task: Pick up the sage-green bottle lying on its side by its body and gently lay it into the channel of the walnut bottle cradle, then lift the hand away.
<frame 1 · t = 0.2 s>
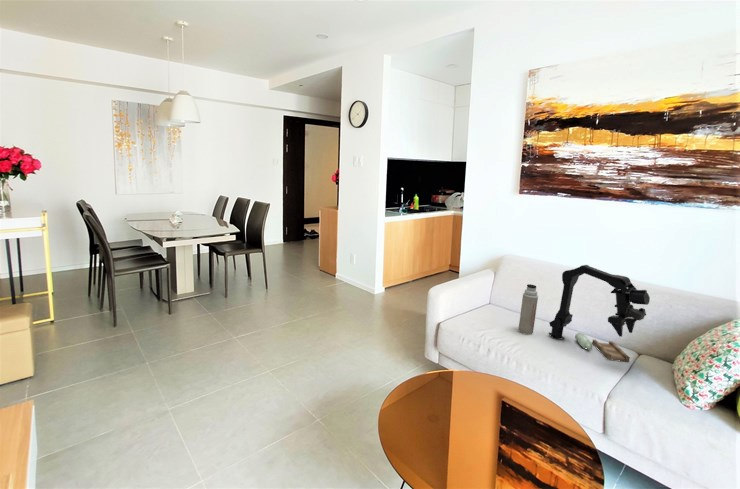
hand: (625, 334, 184), 15 cm above the table, tool pointing down, fingers open, 9 cm apart
bottle: (582, 345, 206), on the table
thermos bottle: (525, 331, 220), on the table
cradle: (609, 352, 198), on the table
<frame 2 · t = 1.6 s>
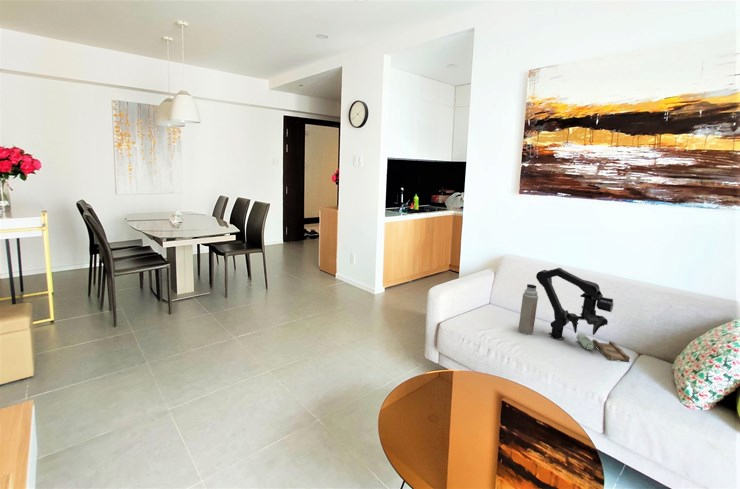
hand: (584, 333, 204), 7 cm above the table, tool pointing down, fingers open, 9 cm apart
bottle: (582, 344, 206), on the table, tilted 20°
everything else where it was.
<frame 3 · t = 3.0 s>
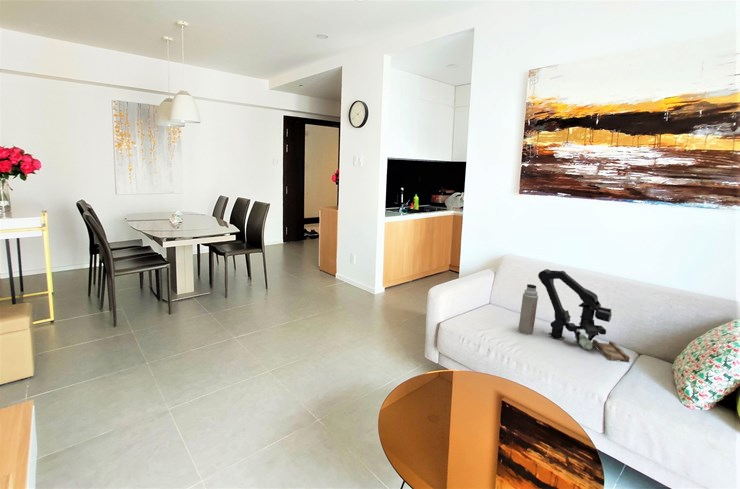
hand: (582, 343, 205), 1 cm above the table, tool pointing down, fingers closed on bottle, 5 cm apart
bottle: (582, 344, 206), on the table, touching gripper
everything else where it was.
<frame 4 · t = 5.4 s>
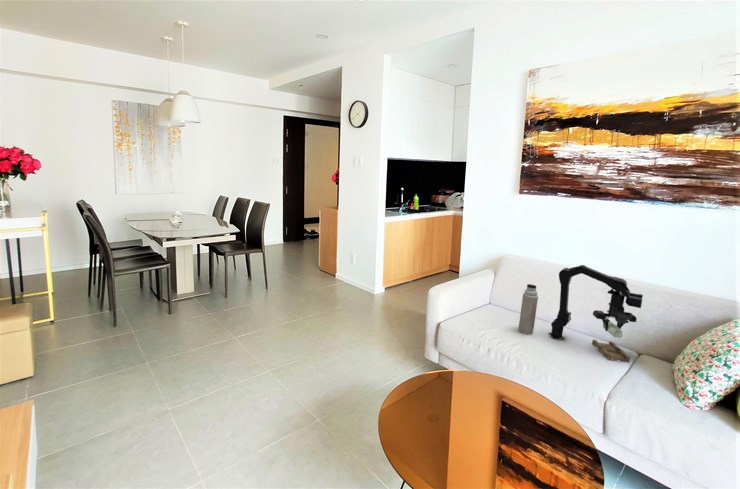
hand: (611, 331, 198), 11 cm above the table, tool pointing down, fingers closed on bottle, 5 cm apart
bottle: (611, 333, 198), point 10 cm above the table, touching gripper
everything else where it was.
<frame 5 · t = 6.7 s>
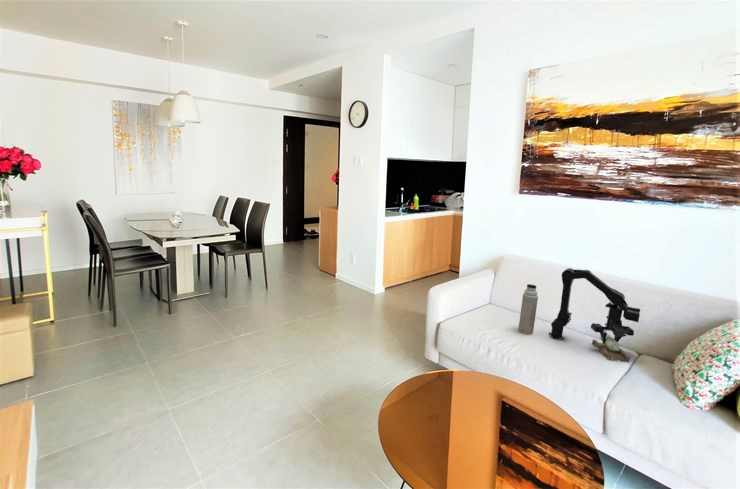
hand: (609, 344, 199), 4 cm above the table, tool pointing down, fingers closed on bottle, 5 cm apart
bottle: (608, 346, 199), point 3 cm above the table, touching gripper
everything else where it was.
when the fingers open (3 cm above the table, at t = 7.5 s): bottle drops 1 cm, resting on cradle.
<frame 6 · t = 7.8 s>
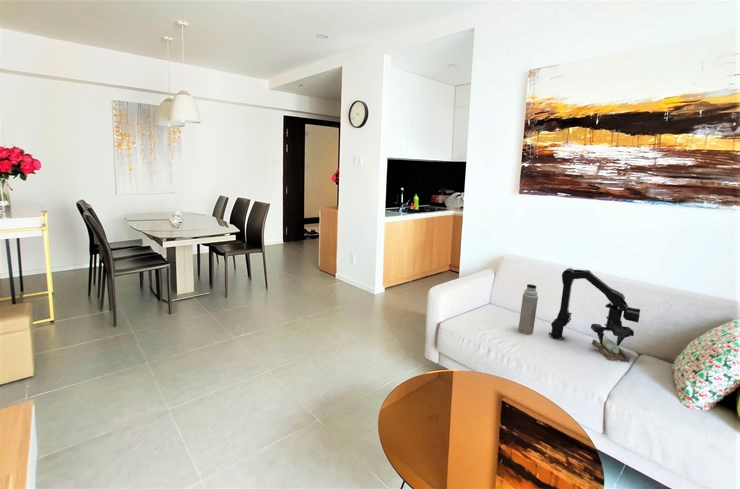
hand: (609, 344, 199), 3 cm above the table, tool pointing down, fingers open, 8 cm apart
bottle: (608, 349, 200), point 1 cm above the table, touching cradle
everything else where it was.
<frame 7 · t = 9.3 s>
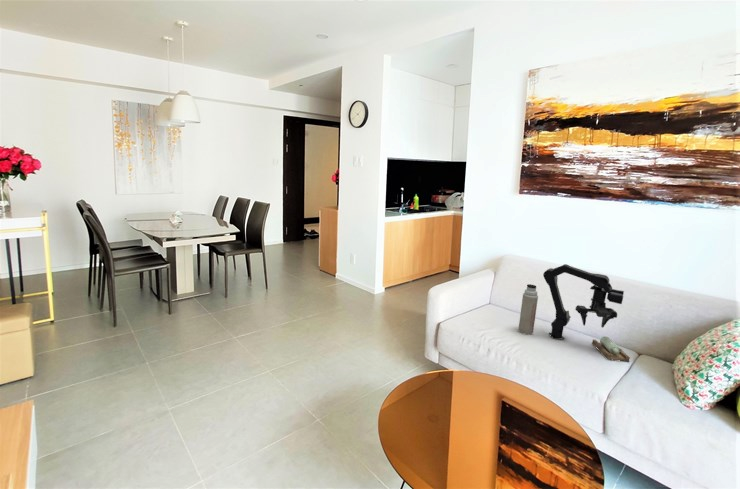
hand: (593, 326, 203), 11 cm above the table, tool pointing down, fingers open, 9 cm apart
nothing on the table moved.
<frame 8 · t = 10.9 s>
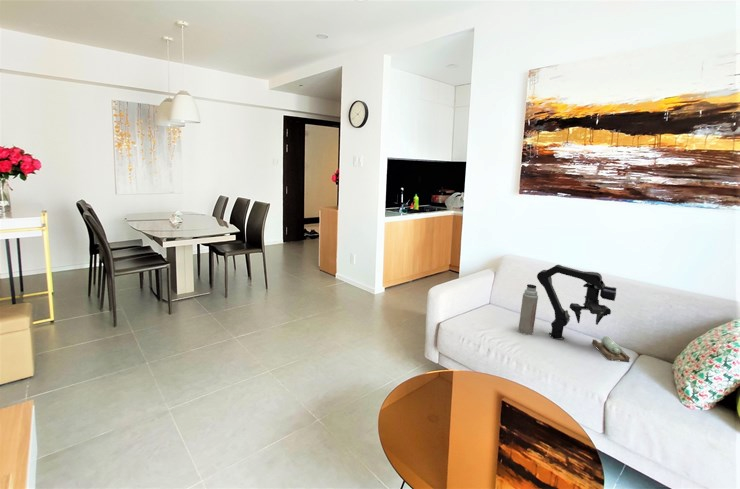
hand: (587, 323, 204), 12 cm above the table, tool pointing down, fingers open, 9 cm apart
bottle: (608, 349, 200), point 1 cm above the table, tilted 16°, touching cradle
everything else where it was.
at the end: bottle inside the target area on the cradle (1.0 cm from its centre), point 1.1 cm above the cradle's base; bottle touching cradle; the gripper is holding nothing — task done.
